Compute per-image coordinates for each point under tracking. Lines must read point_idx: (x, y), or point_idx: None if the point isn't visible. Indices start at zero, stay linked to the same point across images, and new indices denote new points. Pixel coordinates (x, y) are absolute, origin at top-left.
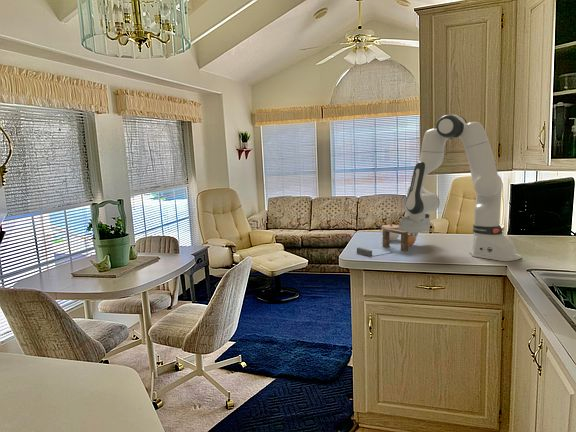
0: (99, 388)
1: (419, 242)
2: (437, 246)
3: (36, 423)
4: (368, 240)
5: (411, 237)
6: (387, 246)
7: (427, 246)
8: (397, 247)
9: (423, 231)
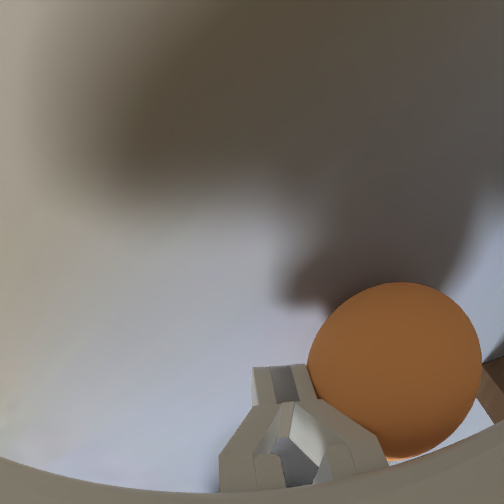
0: None
1: (115, 372)
2: (72, 36)
3: None
4: None
5: (467, 352)
6: (496, 359)
7: (203, 117)
8: (495, 304)
9: (53, 473)
